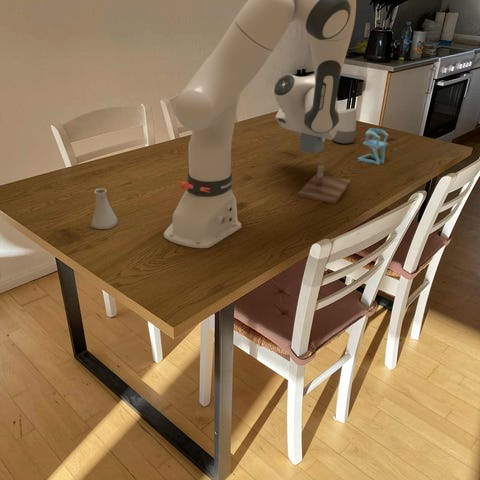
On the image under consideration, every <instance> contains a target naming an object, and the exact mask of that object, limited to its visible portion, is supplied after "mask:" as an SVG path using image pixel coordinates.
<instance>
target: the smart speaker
mask: <svg viewBox="0 0 480 480" xmlns="http://www.w3.org/2000/svg"><path fill="white" fill-rule="evenodd" d="M338 116H339V122H338V124H337V125H336V126H335V128H336V129H337V132H336V135H335V137H334V138H333V139H332V141H334V142H335V143H337V144H341V145H348V144H352V143H353V142H354V140H355V137H356V131H357V130H356V129H357V108H355V107H354V108H348V109H344V110H343V109H342V110H338Z"/></svg>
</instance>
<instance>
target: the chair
mask: <svg viewBox="0 0 480 480" xmlns="http://www.w3.org/2000/svg"><path fill="white" fill-rule="evenodd" d="M378 133H381V134H383V135H384V136H385V137H384V138H383V141H381V136H379V135H378ZM369 136H371V137H372V136H373V137H372V138H371V139H369ZM388 137H389V133H387V132H386V131H385V130H384V129H381V128H374V127H371V128H368V130H367V131H366V132H365V141H363V142H362V145H364V146H367V147H369V149H371V151H372V153H367V154H365V155H362V156H360V157H357V161H360V162H365V163H370V164H375V165H381V164H385V152H386V147H387V146H388V145H389V143H388V142H387V138H388ZM378 149H380V157H379V154H378ZM368 157H371V158H372V159H369V158H368Z"/></svg>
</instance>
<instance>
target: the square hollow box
mask: <svg viewBox="0 0 480 480" xmlns="http://www.w3.org/2000/svg"><path fill="white" fill-rule="evenodd" d="M324 146H325V141H324V142H322V141H320V140H319V137H317V136H313V135H309V134H305V133H301V135H300V144H299V151H301V152H305V153H308V154H312V155H316V154H318V153H319V152H322V151H324V148H325V147H324Z"/></svg>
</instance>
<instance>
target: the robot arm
mask: <svg viewBox="0 0 480 480" xmlns="http://www.w3.org/2000/svg"><path fill="white" fill-rule="evenodd" d="M356 10H357V0H247V1H246V2H245V3H244V5H243V6H242V7H241V9H240V10H239V12H238V13H237V14H236V16H235V17H234V19H233V21H232V22H231V24H230V25H229V27H228V28H227V30H226V31H225V33H224V34H223V36H222V38H221V39H220V41H219V42H218V44H217V45H216V47H215V48H214V50H213V51H212V52H211V54H209V56H208V57H206V59H205V61H204V62H203V63H202V64H201V65H200V67H199V68H198V70H197V71H196V72H195V73H194V75H193V76H192V77H191V78H190V80H189V82H187V83H186V86H185V87H184V88H183V89H182V91H181V92H180V93H179V94H178V96H177V98H176V100H175V102H174V113H175V117H176V119H177V121H178V122H179V124H181V126H183V127H184V128H185V129H187V130H189V131H191V137H190V139H189V143H188V170H189V171H188V173H187V177H186V180H185V181H181V183H180V189H181V190H185V191H184V193H183V194H182V197H181V198H180V201H179V202H178V204H177V206H176V208H175V210H173V211H174V212H173V214H172V222H171V224H169V226H168V227H167V228H166V229H165V230H164V232H163V238H165V239H166V240H167V241H170V242H171V243H174V244H177V245H180V246H184V247H188V248H193V249H208V248H212V247H213V246H215V244H218V243H219V242H221V241H223V240H224V239H225V238H227V237H229V236H230V235H233V234H234V233H236V232H237V231H239V230H240V229H242V223H241V222H240V221H239V220H238V210H237V209H238V208H237V199H236V197H235V195H234V193H233V190H232V188H233V183H234V182H233V181H234V179H233V173H232V171H231V170H232V167H231V166H232V164H231V163H232V142H233V134H234V132H235V131H234V129H235V125H236V123H235V122H236V116H237V109H238V102H239V99H240V95H241V93H242V92H243V91H244V90H245V89H246V88H247V86H248V85H249V84H250V83H251V81H252V80H253V79H254V78H255V76H256V75H257V74H258V72H259V71H260V70H261V68H262V67H263V65H264V64H265V63H266V61H267V60H268V59H269V57H270V56H271V54H272V53H273V52H274V50H275V49H276V47H277V46H278V45H279V44H280V41H281V40H282V38H283V37H284V36H285V34H286V32H287V30H288V27H289V26H290V24H292V23H293V22H294V21H296V22H297V24H299V25H300V26H301V27H302V28H303V29H305V30H306V32H307V33H308V37H309V46H310V47H309V48H310V52H311V53H310V54H311V60H312V66H313V71H314V72H313V73H310V74H308V75H306V76H297V75H294V74H289V73H288V74H285V75H283V76H281V77H280V78H279V79H278V80H277V82H276V83H275V85H274V90H273V95H274V98H275V100H276V103H277V105H278V106H279V109H278V111H277V113H276V115H275V120H276V121H277V122H278V125H279V126H280V127H281V128H283V129H285V130H288V131H293V132H296V133H297V134H298V135H300V136H301V133H305V134H309V135H313V136H317V137H319V140H320V141H322V142H324V143H325V141H326V140H329V141H331V140H332V141H333V138H334V137H335V135H336V132H337V129H336V128H335V126H336V125H337V124H338V122H339V116H338V112H339V109H338V96H337V95H338V89H339V86H340V85H339V84H340V79H341V75H342V70H343V68H344V65H345V60H346V55H347V54H348V53H347V52H348V49H349V47H350V43H351V40H352V39H351V38H352V37H353V36H352V35H353V31H354V26H355V20H356V13H357V12H356Z"/></svg>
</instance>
